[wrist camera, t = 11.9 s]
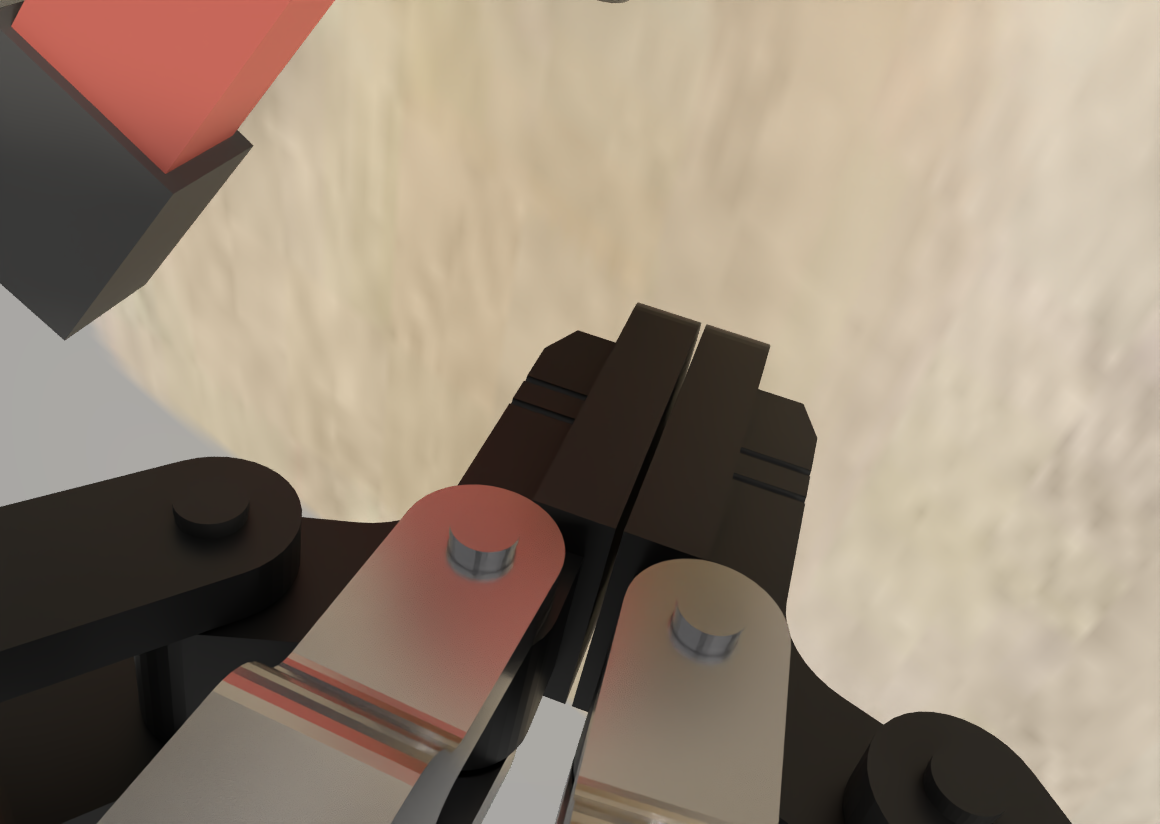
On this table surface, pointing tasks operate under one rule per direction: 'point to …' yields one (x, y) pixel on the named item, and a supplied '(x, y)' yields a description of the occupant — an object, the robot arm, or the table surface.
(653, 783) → the robot arm
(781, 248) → the table surface
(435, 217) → the table surface
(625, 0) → the valve body
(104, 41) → the lever
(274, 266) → the table surface
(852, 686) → the table surface
